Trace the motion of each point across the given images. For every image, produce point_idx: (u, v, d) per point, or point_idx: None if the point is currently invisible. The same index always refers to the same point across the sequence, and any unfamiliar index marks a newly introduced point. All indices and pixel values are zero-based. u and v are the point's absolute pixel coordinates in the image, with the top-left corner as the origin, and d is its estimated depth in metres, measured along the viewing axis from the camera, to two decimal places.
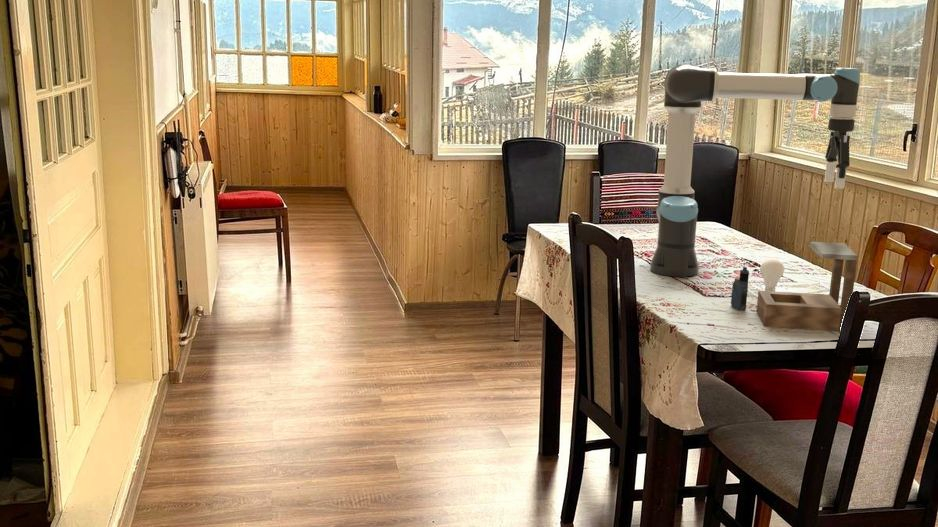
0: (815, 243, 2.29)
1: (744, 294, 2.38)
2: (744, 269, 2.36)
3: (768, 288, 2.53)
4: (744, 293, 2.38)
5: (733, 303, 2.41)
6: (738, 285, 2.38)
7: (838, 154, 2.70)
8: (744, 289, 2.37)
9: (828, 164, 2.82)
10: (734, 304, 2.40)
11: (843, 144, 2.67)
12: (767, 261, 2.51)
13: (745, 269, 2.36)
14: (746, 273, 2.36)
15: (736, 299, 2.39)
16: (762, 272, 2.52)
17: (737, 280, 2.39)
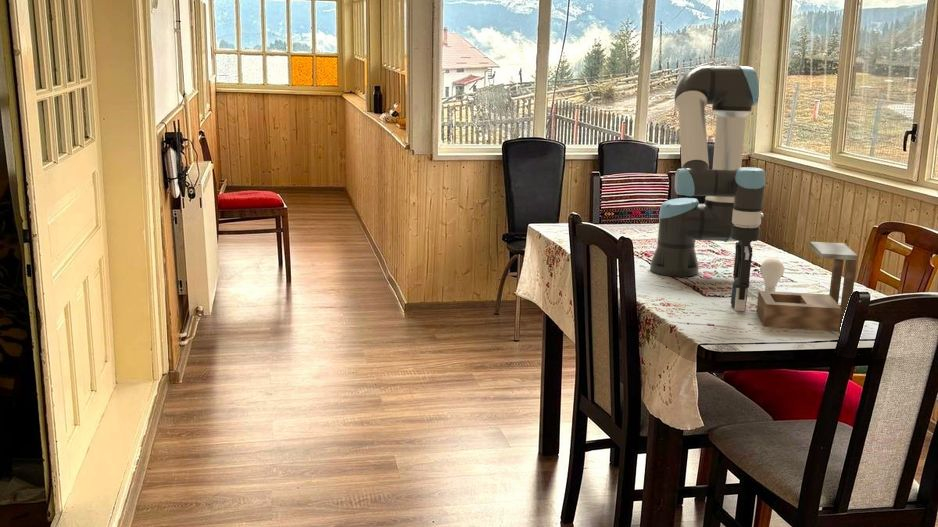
0: (815, 243, 2.29)
1: None
2: None
3: (768, 288, 2.53)
4: None
5: (733, 303, 2.41)
6: None
7: (739, 271, 2.35)
8: None
9: None
10: (734, 304, 2.40)
11: (744, 263, 2.31)
12: (767, 261, 2.51)
13: None
14: None
15: None
16: (762, 272, 2.52)
17: (737, 280, 2.39)
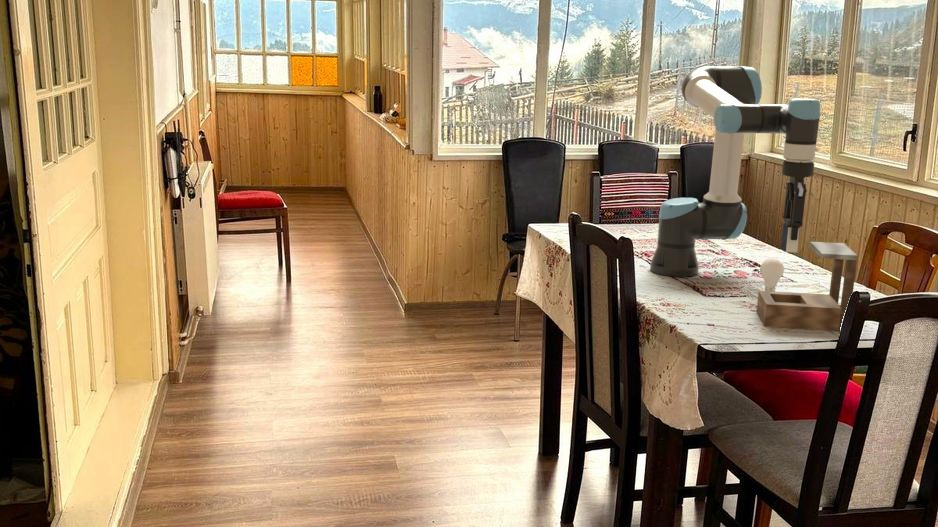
0: (815, 243, 2.29)
1: None
2: None
3: (768, 288, 2.53)
4: None
5: (784, 245, 2.26)
6: None
7: (791, 210, 2.21)
8: None
9: None
10: (785, 246, 2.26)
11: (797, 199, 2.17)
12: (767, 261, 2.51)
13: None
14: None
15: None
16: (762, 272, 2.52)
17: (788, 220, 2.25)
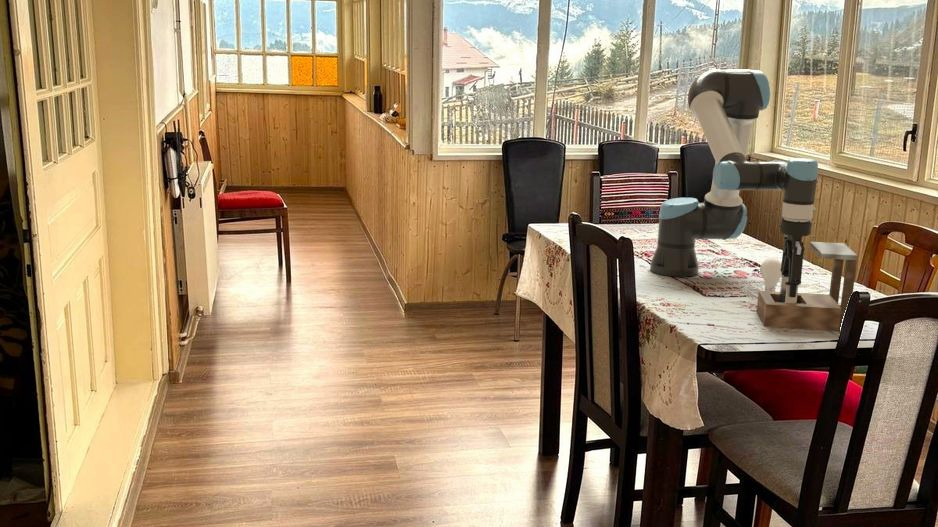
0: (815, 243, 2.29)
1: None
2: None
3: (768, 288, 2.53)
4: None
5: None
6: None
7: (789, 267, 2.23)
8: None
9: (783, 280, 2.31)
10: None
11: (796, 258, 2.20)
12: (767, 261, 2.51)
13: None
14: None
15: None
16: (762, 272, 2.52)
17: (785, 291, 2.29)
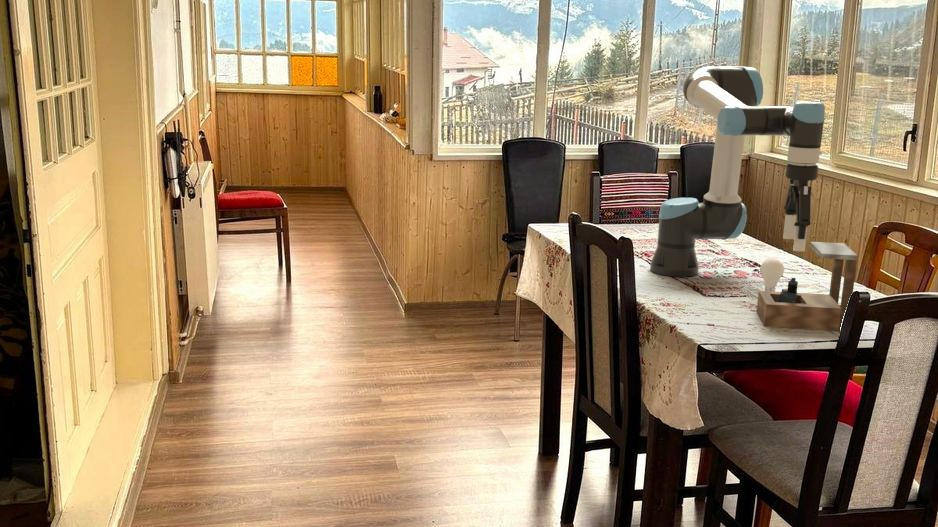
0: (815, 243, 2.29)
1: None
2: (793, 280, 2.26)
3: (768, 288, 2.53)
4: None
5: None
6: (786, 297, 2.27)
7: (797, 209, 2.18)
8: (793, 301, 2.26)
9: (787, 217, 2.30)
10: None
11: (803, 197, 2.15)
12: (767, 261, 2.51)
13: (794, 280, 2.26)
14: (795, 284, 2.25)
15: None
16: (762, 272, 2.52)
17: (785, 291, 2.29)
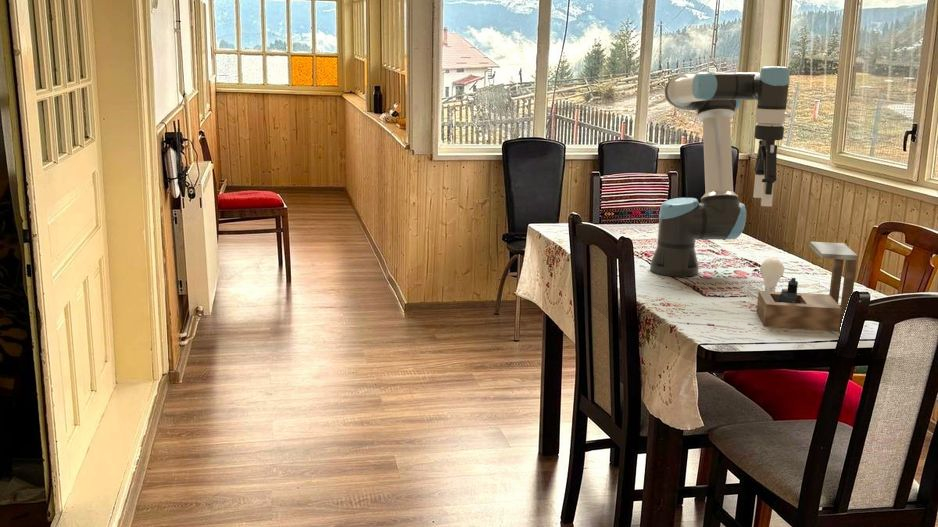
0: (815, 243, 2.29)
1: None
2: (793, 280, 2.26)
3: (768, 288, 2.53)
4: None
5: None
6: (786, 297, 2.27)
7: (764, 166, 2.33)
8: (793, 301, 2.26)
9: (757, 177, 2.45)
10: None
11: (769, 155, 2.30)
12: (767, 261, 2.51)
13: (794, 280, 2.26)
14: (795, 284, 2.25)
15: None
16: (762, 272, 2.52)
17: (785, 291, 2.29)
